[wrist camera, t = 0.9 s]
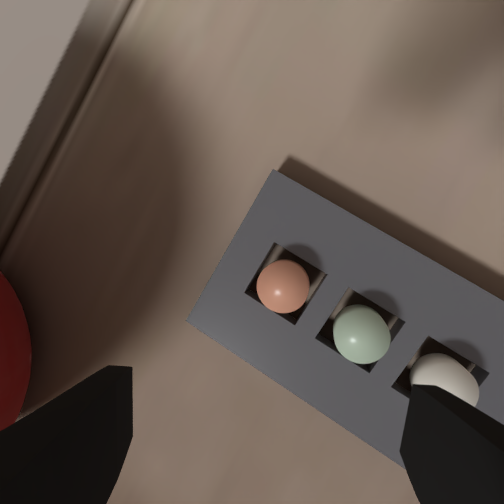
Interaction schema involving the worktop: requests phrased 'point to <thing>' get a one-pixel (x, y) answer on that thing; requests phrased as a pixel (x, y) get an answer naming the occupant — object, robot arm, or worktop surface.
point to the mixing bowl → (12, 354)
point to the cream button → (445, 376)
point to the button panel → (325, 300)
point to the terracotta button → (283, 286)
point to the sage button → (361, 334)
